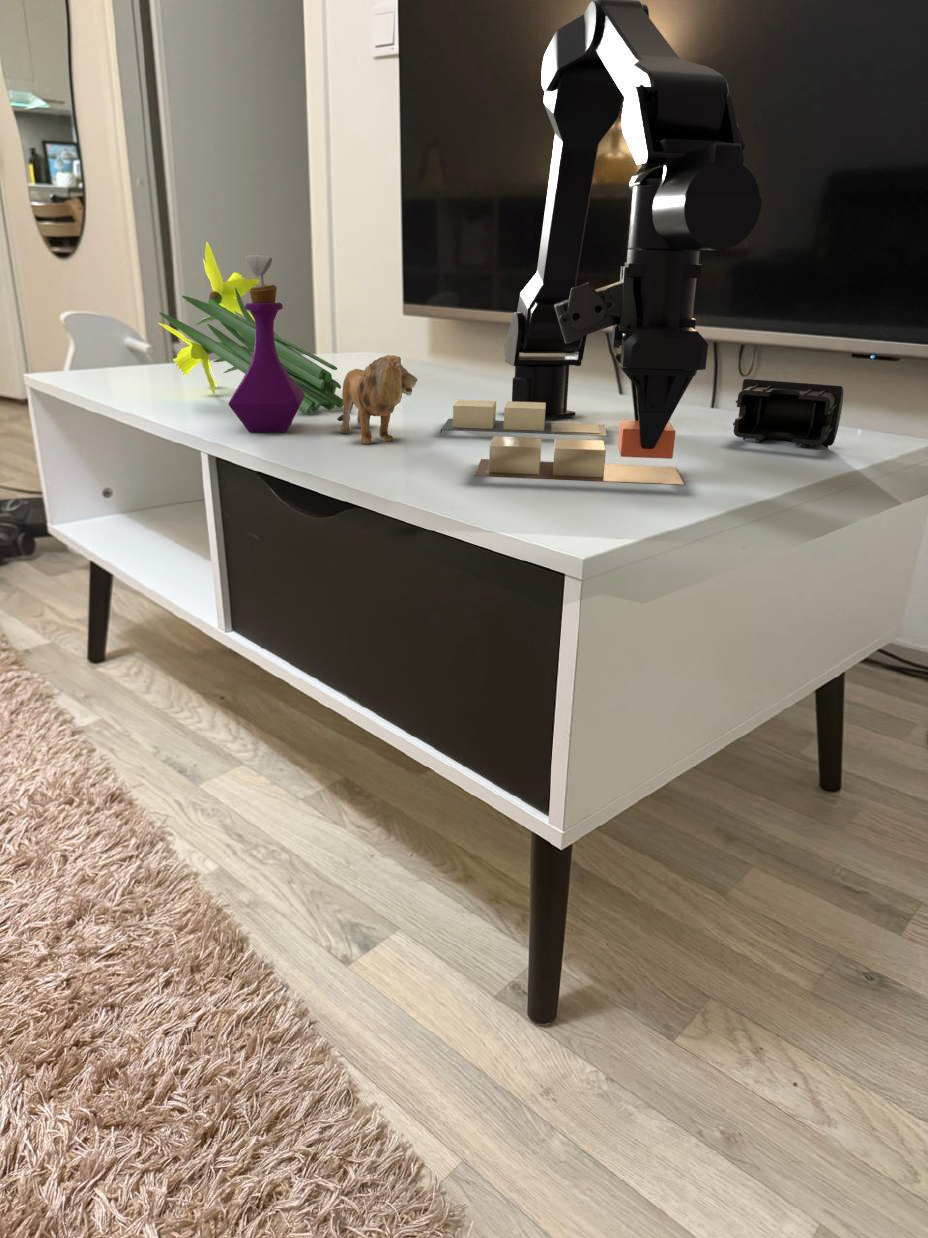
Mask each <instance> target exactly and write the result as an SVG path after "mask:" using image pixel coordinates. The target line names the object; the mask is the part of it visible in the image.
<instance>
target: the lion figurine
mask: <svg viewBox="0 0 928 1238" xmlns="http://www.w3.org/2000/svg"><path fill="white" fill-rule="evenodd" d="M343 379H344V380H343V383H342V390H341V391H342V392H341V394H342V396H341V398H342V399H343V406H342V407H343V414H341V415H339V416H338V417H337V418H336V420H337V421H338V422H342V424H341V427H340V428H339V431H340V433H342V434H347V433H351V431H352V429H351V426H350V422H351V421H350V420H351V412H352V410H353V407H356V409H357V418H356V420H357V421H356V422H357V423H356V424H357V426H358V427H359V428H360V432H361V437H360V439H359V441H360V444H363V445H370V444H372V443H373V440H372V439H373V435H372V433H371V430H370V429H371V428H370V420H371V416H373V417H380V426H379V431H378V435H379V439H380V440H381V441H384V442H391V441H393V440H394V436H393V435H391V434H389V431H388V430H389V424H390V420H391V414H393V412H394V410H395V407H396V406H397V405H398V404H401V401H402V399H403V394H405V395H406V396H411V395H412V394H413V389H414V388H415V386H416V384H417V382H418V378H417V377H416V376H414V375H413V374H411V373H410V372H409V371H408V370H407V368H405V367H404V366H403V364H402V357H400V356H398V355H394V354H386V355H384V356H381V357H379V358H377V359H374V360H373V361H372V362H371V363H369V364H368V365H367V366H366V367H365V368H364V369H360V368H353V369H352V370H349V371H348V372H347V373H346V374H345V376H344V378H343Z"/></svg>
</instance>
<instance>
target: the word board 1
mask: <svg viewBox="0 0 928 1238" xmlns="http://www.w3.org/2000/svg"><path fill="white" fill-rule="evenodd" d="M503 408H504V410H503V412H504V413H503V420H496V418H497V417H496V416H497V400H483V399H481V400H479V399H457V400H456V401H455V402H454V403H453V405H452V418H447V420H446V421H445V423H444V424H443V425H442V426H441V428H440V430H439V431H440V432H439V433H440V435H441V434H442V432H443V431H460V432H461V431H462V432H485V433H486V432H488V433H511V434H513V433H515V434H540V435H562V436H563V435H564V436H566V435H567V436H590V437H591V436H594V437H608V433H607V429H606V425H605V424H601V423H574V422H548V421H547V422H546V420H545V409H546V403H540V402H512V400H511V401H510V400H509V401H508V400H507V401H506V403H505V405H504V407H503Z"/></svg>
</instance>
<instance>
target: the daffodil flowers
mask: <svg viewBox="0 0 928 1238" xmlns="http://www.w3.org/2000/svg"><path fill="white" fill-rule="evenodd" d="M204 258H205V259H204ZM204 258H203V257H202V262H203V265H204V271H205V275H206V276H207V278H208V280H209V282H210V287H211V289H212V291H211V292H209V295H208V303H207V302H205V301H202V300H199V299H197V298H193V297H190V296H187V295H182V296H181V297H182V298H183V299H184V300H185V301H187V302H188V303H189V304H191V305H192V306H194V307H195V308H197V309H199V310H200V311H202V312H203V313H205V314H206V315H208V316H207V317H204V318H202V319H201V320H199V321H198V322H196V323H195V324H194V326H199V325H202V324H205V323H207V326H208V328H209V330H211V332H212V333H213V334H214V335H215V336H216V338H217V339H218V340H219V341H217V340H214V339H213V338H212V337H209V336H207V335H206V334H205V333H203V332H201V331H199V330H198V329H196V328H194V327H192V326H190V325H188V324H186V323H184V322H182V321H181V320H179V319H176V318H174V317H172V316H170V315H168V314H166V313H164V312H160V311H159V315H160V316H161V317H163V318H164V319H165V320H166V321H168V322H169V324H171V325H172V326H174V327H175V328H177V329H178V330H177V329H175V328H173V327H171V326H169V324H164V323H161V322H157V321H156V323H157V324H158V325H160V326H161V327H162V328H163V329H164V330H167V331H168V332H170V333H171V334H172V335H174V336H175V337H177V338H178V339H180V340H181V341H182V342H183V343H186V344H187V345H188V346H185V347H182V348H181V349H180V350H179V351H178V353H177V355H176V356H177V357H176V358H173V359H172V361H173V363H174V364H175V366H176V367H178V370H180V371H181V372H180V373H183V375H184V377H187V376H188V375H189V373H190V372H191V371H192V370H193V369H194V368H195V367H196V366H197V365H198V364H199V363H201V365H202V368H203V370H204V373H205V376H206V378H207V382H208V384H209V387H210V390H211V392H212V395H213V396H215V392H216V388H218V384H217V381H216V377H215V374H214V372H213V369H212V365H211V361H210V358H209V355H211V354H214V355H216V356H218V359H216V360H213V361H212V363H222V362H227V363H228V364H229V365H230V366H232V367H230V368H228V369H226V370H224V371H223V374H227V373H230V372H233V371H237V370H238V371H240V372H241V373H243V374H245V373H246V371H247V369H248V367H249V365H250V363H251V361H252V357H253V353H254V348H255V339H256V326H255V320H254V318H253V316H252V314H251V312H250V311H249V310H247V309H245V303H244V302H243V299H242V298H241V297H243V296H245V295H246V294H248V293H249V292H250V291H249V290H250V289H251V287H253V286H257V285H259V283H260V282H261V279H258V278H246V277H243V274H240V272H237V271H234V272H233V273H232V274H231V275H230V277H229V278H228V279H227V280H226V281H223V277H222V274H221V271H220V269H219V266H218V264H217V261H216V258H215V255H214V253H213V250H212V248H211V246H210V244H209V242H208V241H206V243H205V248H204ZM236 313H238V314H239V315H241V316H243V317H240V316H239V315H237V314H236ZM216 320H217V321H219V323H220V324H221V325H222V326H223V327H224V328H225V329H226V330H227V331H228V332H230V334H232V335H233V336H234V337H235V338H236V339H237V340H238V341H239V342H241V343H242V344H243V345H240V344H239V343H237V342H236V341H235V340H233V339H232V338H231V337H229V336H228V335H226V334H225V333H223V332H222V331H220V330H219V329H218V328H216V327H214V326H213V325H212V324H209V323H208V322H212V321H216ZM181 332H182V333H181ZM184 334H185V335H186V336H187V337H189V338H191V339H189V338H187V337H186V336H185V335H184ZM274 342H275V347H276V352H277V355H278V358H279V360H280V363H281V364H282V366H283V367H284V369H285V370H286V372H287V373H288V375H289V376H290V377H291V379H292V380H293V381H294V382H295V383H296V384H297V386H298V387H299V388H300V389H301V390H302V392H303V393H304V394H305V396H304V398H303V400H302V403H301V405H300V407H299V409H298V411H301V412H302V413H304V414H305V415H308V414H309V413H310V412H311V411H312V412H316V411H317V410H318V409H319V408H320V406H321V407H322V408H324V409H326V410H328V411H332V410H333V409H334V408H335V407H336V408H338V409H341V408H342V407H343V397H340V396H339V395H337V394H336V393H335V392H336V389H337V388H338V389H342V386H341V384H340V383H339V382H338V381H337V380H335V379H334V378H333V375H332V373H331V372H330V371H328V370H326V369H325V368H324V367H321V366H320V365H319V364H322V365H324V366H325V367H327V368H329V369H331V370H332V371H333V370H334V371H337V370H338V367H337V366H335V365H334V364H332V363H330V362H329V361H326V360H325V359H323V358H321V357H319V356H318V355H316V354H314V353H312V352H310V351H308V350H306V349H304V348H303V347H300V346H299V345H297V344H294V343H292V342H291V341H288V340H287V339H285V338H282V337H281V336H279V335H278V334H277V333H276V332H275V331H274ZM297 351H298V352H297ZM299 352H300V353H302V354H304V355H305V356H308V357H309V358H311V359H313V360H314V361H317V362H318V363H319V364H317V363H316V362H314V361H312V360H311V359H309V358H307V357H305V356H304V355H302V354H300V353H299ZM212 376H213V377H212Z"/></svg>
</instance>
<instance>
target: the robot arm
mask: <svg viewBox="0 0 928 1238" xmlns="http://www.w3.org/2000/svg"><path fill="white" fill-rule="evenodd" d="M541 87H542V90H543V93H544V95H543V105H544V108H545V110H546V114H547V116H548V119H549V121H550V123H551V126H552V129H553V132H554V139H553V146H552V147H553V148H552V155H551V162H550V169H549V178H548V183H547V185H548V186H547V193H546V201H545V206H544V207H545V208H544V215H543V222H542V230H541V236H540V237H541V238H540V244H539V245H540V246H539V253H538V261H537V267H536V273H535V274H534V275H533V276H532V278H531V279H530V280H529V281H528V283H526V285H525V286H524V287H523V289H522V290H521V291H520V292H519V299H518V303H517V308H516V311H515V312H514V313H513V314H512V317H511V321H510V325H509V329H508V332H507V335H506V339H505V343H504V362H505V363H506V364H508V365H510V366H512V367H514V376H513V377H512V383H511V385H512V388H511V401H512V402H540V403H546V409H545V421H547V420H553V419H560V418H567V417H575V416H576V414H577V413H576V411H573V410H569V409H568V396H569V394H568V393H569V377H570V366H575V367H581V366H582V361H583V359H584V354H585V348H586V342H587V336H588V335H590V334H593V333H596V332H598V331H601V330H604V329H608V328H610V327H612V334H611V335H612V336H611V347H612V349H620V352H616V353H613V356H614V357H615V360H616V361H617V362H618V364H619V368H620V370H621V371H622V373H623V374H624V375H625V376H626V377H627V378H628V379H629V380H630V387H631V395H632V405H633V414H634V421H639V432H640V443H641V447H642V448H643V449H653V448H654V447H655V446H656V444H657V442H658V440H659V438H660V436H661V434H662V433H663V431H664V429H665V427H666V425H667V423H668V422H670V420H671V418H672V416H673V414H674V413H675V410H676V408H677V406H678V405H679V403H680V401H681V399H682V398H683V396H684V395H685V393H686V391H687V389H688V387H689V385H690V383H691V382H692V380H693V378H694V377H696V375H697V373H698V371H705V370H706V369H707V360H708V351H709V343H708V342H707V340H705V338H704V337H703V336H702V335H701V334H700V332H699V331H698V330H697V329H696V323H697V322H696V321H697V319H696V318H694V317H693V315H694V308H695V307H694V305H695V297H696V289H697V288H696V287H697V279H701V277H702V268H703V264H699V260H700V251H723V250H728V249H731V248H733V247H736V246H737V245H739V244H741V243H742V242H743V241H744V240H745V239H747V238H748V236H749V235H750V234H751V232H752V231H753V230H754V228H755V226H756V225H757V222H758V220H759V218H760V213H761V210H762V197H761V194H760V187H759V185H758V182H757V180H756V178H755V176H754V175H753V173H752V172H751V170H750V169H748V168H747V167H746V166H745V165H744V163H745V162H744V161H745V156H744V152H743V151H744V149H745V147H746V142H745V140H744V137H743V135H742V132H741V129H740V127H739V123H738V118H737V116H736V112H735V107H734V101H733V97H732V95H731V93H730V90H729V84H728V82H727V80H726V78H725V76H724V75H723V74H722V73H720V72H718V71H716V70H715V69H713V68H710V67H709V66H707V65H704V64H699V63H696V62H691V61H688V60H684V59H683V58H681V57H679V55H678V54H677V52H676V51H675V50H674V49H673V47H672V46H671V45H670V43H669V42H668V41H667V39H666V38H665V36H664V35H663V34H662V33H661V31H660V30H659V29H658V27H657V26H656V25H655V24H654V22H653V21H652V19H651V18H650V13H649V7H648V5H647V4H645V3H642V2H641V1H640V0H591V1H590V2H589V4H588V5H587V7H586V9H585V10H584V12H583V14H581V15H580V16H578V17H576V18H575V19H573V20H571V21H570V22H567V23H566V24H564V25H563V26H561V27H559V28H558V29H557V30H556V31H555V33H554V34H553V36H552V38H551V40H550V42H549V44H548V46H547V48H546V50H545V52H544V55H543V58H542V65H541ZM620 116H621V122H620V123H621V131H622V134H623V137H624V139H625V142H626V144H627V147H628V148H629V151H630V153H631V155H632V157H633V158H632V159H633V160H634V163H635V165H637V166H640V167H639V168H638V170H637V171H636V172H634V173H633V175H632V176H631V179H630V180H629V184H628V188H629V190H631V191H632V193H631V206H630V216H629V217H630V219H629V230H628V242H627V255H626V262H624V266H620V275H619V276H620V277H619V281H617V282H614V283H611V284H608V285H605V286H602V287H599V288H596V289H595V288H594V287H593V286H592V285H591V284H590V282H585V283H583V284H581V285H578V286H577V280H578V274H579V268H580V261H581V255H582V250H583V249H582V248H583V244H584V243H583V242H584V237H585V231H586V225H587V219H588V213H589V207H590V201H591V194H592V188H593V181H594V176H595V170H596V164H597V157H598V152H599V146H600V144H601V142H602V141H603V139H605V137H606V136H607V135H608V133H609V132H610V130H611V129H612V128H613V126H614V125H615V124H616V123H617V121H618V120H619V118H620ZM620 346H621V347H620ZM520 354H565V355H560V356H559V355H558V356H557V355H551V356H550V355H547V356H546V355H544V356H543V355H534V356H531V355H528V356H527V355H520Z"/></svg>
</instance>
